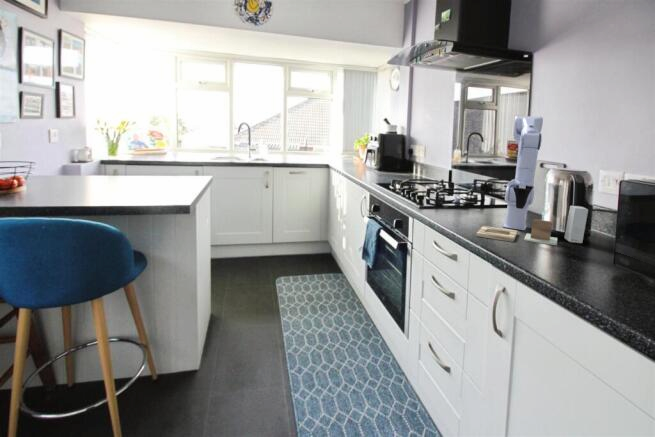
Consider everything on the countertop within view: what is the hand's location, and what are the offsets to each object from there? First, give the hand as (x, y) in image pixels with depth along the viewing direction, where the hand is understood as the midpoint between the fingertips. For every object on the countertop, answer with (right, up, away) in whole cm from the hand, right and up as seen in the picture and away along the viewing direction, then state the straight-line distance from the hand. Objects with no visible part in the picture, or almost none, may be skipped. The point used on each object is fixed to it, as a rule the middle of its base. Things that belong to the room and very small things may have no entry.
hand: (520, 207), depth 156 cm
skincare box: (+18, -12, -1) cm, 22 cm away
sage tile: (+6, -11, -2) cm, 13 cm away
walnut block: (+6, -11, -2) cm, 12 cm away
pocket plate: (-8, -10, +1) cm, 13 cm away
